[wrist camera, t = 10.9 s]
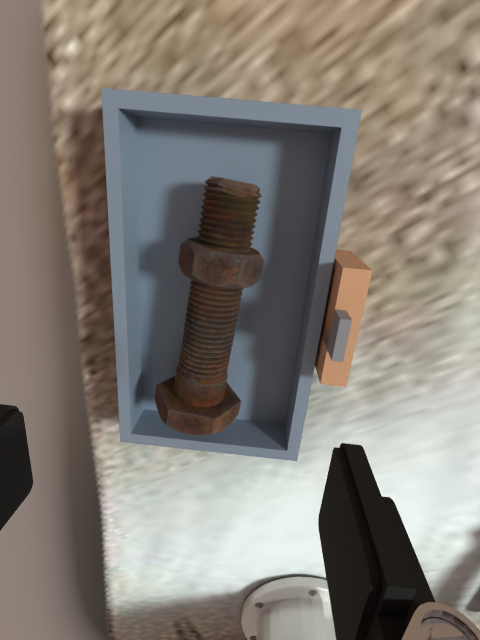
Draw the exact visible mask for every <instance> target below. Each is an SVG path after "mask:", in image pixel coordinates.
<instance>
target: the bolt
mask: <svg viewBox="0 0 480 640" xmlns="http://www.w3.org/2000/svg"><path fill="white" fill-rule="evenodd" d="M205 183H206V184H207V186H206V187H204V189H205V190H206V192H205V193H203V195H204V196H205V199H203V200H202V201H203V203H204V204H205V205H203V206H201V207H202V209H203V210H204V211H203V212H200V213H201V215H202V216H203V217H202V218H200V219H199V220H200V221H201V222H202V223H201V224H199V227H200V228H201V229H200V230H198V233H199V234H200V235H199V236H197V238H189V239H187V240H186V241H184V242H183V243H182V244H180V252H179V260H178V264H179V266H180V269H181V271H182V273H183V274H184V275H185V276H186V277H188V278H190V279H192V281H191V282H190V284H191V285H192V286H190V288H189V289H190V290H191V291H190V292H189V295H190V296H189V297H188V301H189V302H188V303H187V306H188V307H187V308H186V309H187V313H186V318H185V323H184V326H185V327H184V333H183V335H184V336H183V341H182V346H181V352H180V358H179V365H178V366H177V369H176V376H174V377H171V378H169V379H167V380H165V381H163V382H161V383H159V384H157V385H156V392H155V402H156V407H157V410H158V413H159V415H160V418H161V420H162V421H163V423H165V424H166V425H167V426H169V427H171V428H172V429H174V430H176V431H178V432H181V433H183V434H187V435H194V436H203V435H210V434H215V433H219V432H221V431H223V430H224V429H225V428H227V427H228V426H229V425H230V424H231V423H232V422H233V421H234V419H235V418H236V417H237V416H238V414H239V410H240V405H241V400H240V399H239V397H238V396H237V395H236V393H235V392H234V391H233V390H232V388H231V387H230V386H229V384H228V383H227V378H228V373H227V370H228V365H229V360H230V355H231V351H232V346H233V340H234V336H235V333H234V332H235V331H236V328H235V327H236V322H237V320H238V319H237V317H238V315H239V314H238V312H239V307H240V301H241V296H242V291H243V289H244V288H248V287H251V286H253V285H254V284H256V283H257V282H258V281H259V280H260V279H261V276H262V271H263V267H264V262H265V261H264V259H263V258H262V256H261V254H260V253H259V251H257V250H256V249H253V248H251V247H250V246H251V245H252V243H251V242H250V241H251V240H253V237H252V236H251V235H252V234H254V231H253V230H252V229H253V228H255V225H254V224H253V223H255V222H256V221H257V220H256V219H255V218H254V217H256V216H257V215H258V214H257V213H256V210H258V209H259V207H258V206H257V204H259V203H260V201H259V200H258V198H260V197H262V195H261V194H260V193H259V191H260V189H259V187H258V186H256V185H254V184H250V183H245V182H240V181H235V180H230V179H225V178H220V177H214V176H211V177H210V178H209V179H207V180H206V181H205Z"/></svg>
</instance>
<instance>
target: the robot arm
mask: <svg viewBox="0 0 480 640" xmlns="http://www.w3.org/2000/svg"><path fill="white" fill-rule="evenodd" d="M32 485H33V478H32V470H31V464H30V457H29V450H28V444H27V437H26V430H25V423H24V417H23V414H22V412H19V409H18V408H17V407H16V406H10V405H2V404H0V530H1V529H2V528H3V526H4V525H5V524H6V523H7V521H8V520H9V519H10V517H11V516H12V515H13V514H14V512H15V511H16V510H17V508H18V507H19V506H20V504H21V503H22V502H23V501H24V499H25V498H26V497H27V496H28V494H29V493H30V491H31V488H32ZM319 533H320V540H321V546H322V553H323V559H324V565H325V572H326V578H327V580H324V579H320V578H313V577H289V578H283V579H278V580H274V581H272V582H269V583H267V584H264V585H262V586H261V587H259V588H258V589H256V590H255V591H254V592H253V593H251V594H250V595H249V596H248V598H247V599H246V601H245V602H244V605H243V608H242V618H241V625H242V630H243V632H244V634H245V636H246V638H247V639H248V640H480V630H479V629H478V628H477V627H476V626H475V624H474V623H473V622H471V621H470V620H469V619H468V618H467V617H466V616H465V615H463V614H462V613H460V612H459V611H457V610H456V609H454V608H452V607H451V606H448V605H445V604H442V603H439V602H435V600H434V597H433V595H432V593H431V590H430V588H429V585H428V583H427V580H426V578H425V576H424V573H423V571H422V568H421V566H420V564H419V561H418V559H417V556H416V554H415V551H414V549H413V547H412V544H411V542H410V539H409V537H408V534H407V532H406V530H405V527H404V525H403V522H402V520H401V517H400V515H399V513H398V510H397V508H396V505H395V503H394V502H393V500H392V499H391V498H390V497H382V496H381V494H380V491H379V488H378V486H377V483H376V481H375V478H374V475H373V473H372V470H371V467H370V465H369V462H368V459H367V457H366V454H365V451H364V449H363V447H362V446H361V445H353V444H345V443H342V444H341V445H340V448H334V449H333V453H332V458H331V462H330V467H329V471H328V476H327V481H326V485H325V490H324V495H323V499H322V504H321V508H320V513H319Z"/></svg>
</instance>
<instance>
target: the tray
mask: <svg viewBox="0 0 480 640" xmlns="http://www.w3.org/2000/svg"><path fill="white" fill-rule="evenodd" d="M101 91H102V110H103V128H104V147H105V166H106V184H107V203H108V222H109V240H110V259H111V277H112V296H113V315H114V333H115V352H116V371H117V389H118V408H119V427H120V442H127V443H136V444H145V445H154V446H163V447H173V448H182V449H191V450H200V451H209V452H218V453H228V454H237V455H246V456H255V457H264V458H274V459H283V460H292V461H297V459H298V453H299V448H300V442H301V437H302V431H303V426H304V421H305V415H306V410H307V404H308V399H309V393H310V388H311V383H312V377H313V372H314V366H315V361H316V355H317V350H318V345H319V339H320V334H321V328H322V323H323V317H324V312H325V306H326V301H327V296H328V290H329V285H330V279H331V274H332V268H333V263H334V258H335V252H336V247H337V241H338V236H339V230H340V225H341V220H342V214H343V209H344V203H345V198H346V192H347V187H348V182H349V176H350V171H351V165H352V160H353V154H354V149H355V144H356V138H357V133H358V127H359V122H360V116H361V111H362V110H356V109H344V108H332V107H320V106H309V105H297V104H285V103H273V102H261V101H250V100H238V99H226V98H214V97H202V96H191V95H179V94H167V93H155V92H143V91H132V90H120V89H108V88H101ZM211 176H214V177H220V178H225V179H230V180H235V181H240V182H245V183H250V184H254V185H256V186H258V187H259V189H260V191H259V193H260V194H261V195H262V197H260V198H258V200H259V201H260V203H259V204H257V206H258V207H259V209H258V210H256V213H257V214H258V215H257V216H256V217H254V218H255V219H256V220H257V221H256V222H255V223H253V224H254V225H255V228H253V229H252V230H253V231H254V234H252V235H251V236H252V237H253V240H251V241H250V242H251V243H252V245H251V246H250V247H251V248H253V249H256V250H257V251H259V253H260V254H261V256H262V258H263V259H264V261H265V262H264V267H263V271H262V276H261V279H260V280H259V281H258V282H257V283H256V284H254V285H253V286H251V287H248V288H244V289H243V291H242V296H241V301H240V307H239V312H238V314H239V315H238V317H237V319H238V320H237V322H236V327H235V328H236V331H235V332H234V333H235V336H234V340H233V346H232V351H231V355H230V360H229V365H228V370H227V373H228V378H227V383H228V384H229V386H230V387H231V388H232V390H233V391H234V392H235V393H236V395H237V396H238V397H239V399H240V400H241V405H240V410H239V414H238V416H237V417H236V418H235V419H234V421H233V422H232V423H231V424H230V425H229V426H228V427H227V428H225V429H224V430H223V431H221V432H219V433H215V434H210V435H203V436H194V435H187V434H183V433H181V432H178V431H176V430H174V429H172V428H171V427H169V426H167V425H166V424H165V423H163V421H162V420H161V418H160V415H159V413H158V410H157V407H156V402H155V392H156V385H157V384H159V383H161V382H163V381H165V380H167V379H169V378H171V377H174V376H176V369H177V366H178V365H179V358H180V352H181V346H182V341H183V336H184V335H183V333H184V327H185V326H184V323H185V318H186V313H187V309H186V308H187V307H188V306H187V303H188V302H189V301H188V297H189V296H190V295H189V292H190V291H191V290H190V289H189V288H190V286H192V285H191V284H190V282H191V281H192V279H190V278H188V277H186V276H185V275H184V274H183V273H182V271H181V269H180V266H179V264H178V260H179V252H180V244H182V243H183V242H184V241H186V240H187V239H189V238H197V236H199V235H200V234H199V233H198V230H200V229H201V228H200V227H199V224H201V223H202V222H201V221H200V220H199V219H200V218H202V217H203V216H202V215H201V213H200V212H203V211H204V210H203V209H202V207H201V206H203V205H205V204H204V203H203V201H202V200H203V199H205V196H204V195H203V193H205V192H206V190H205V189H204V187H206V186H207V184H206V183H205V181H206V180H207V179H209V178H210V177H211Z"/></svg>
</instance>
